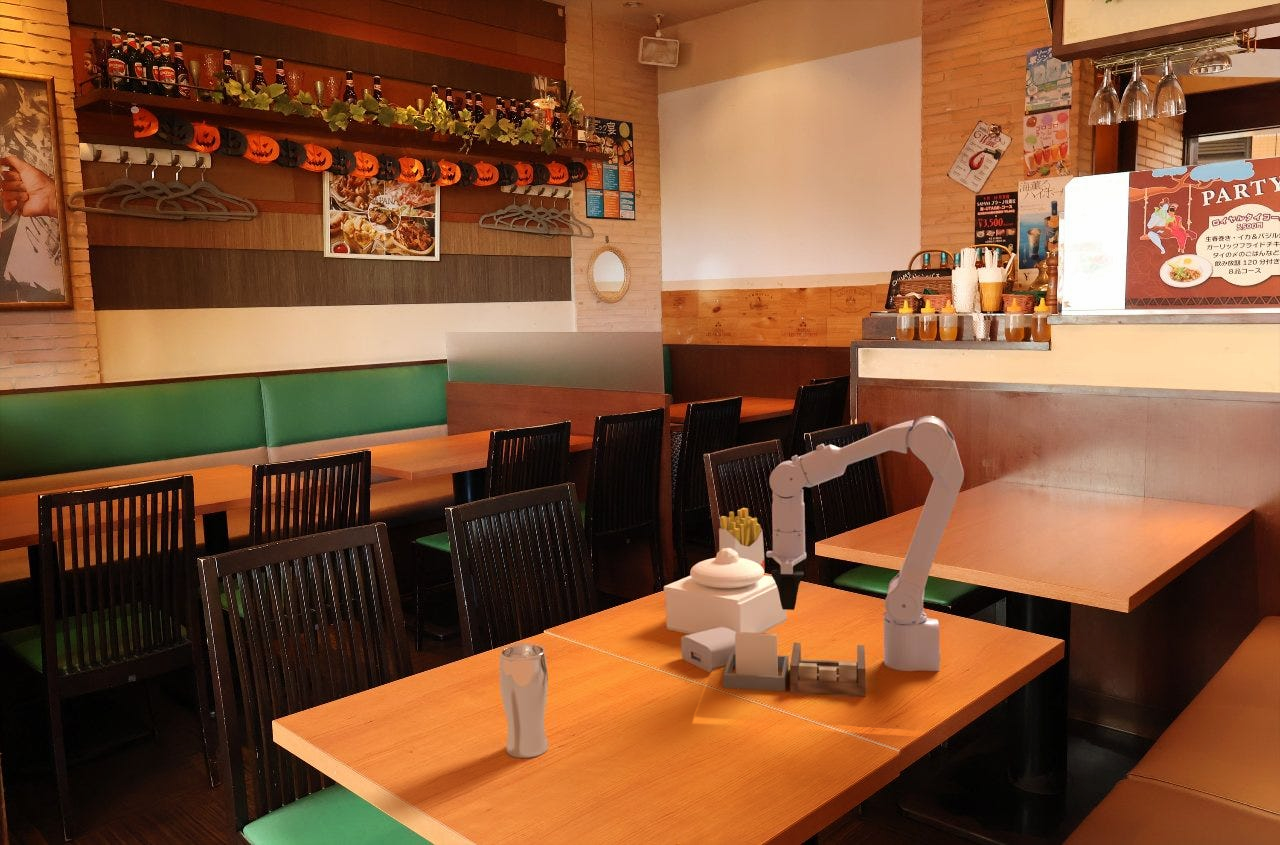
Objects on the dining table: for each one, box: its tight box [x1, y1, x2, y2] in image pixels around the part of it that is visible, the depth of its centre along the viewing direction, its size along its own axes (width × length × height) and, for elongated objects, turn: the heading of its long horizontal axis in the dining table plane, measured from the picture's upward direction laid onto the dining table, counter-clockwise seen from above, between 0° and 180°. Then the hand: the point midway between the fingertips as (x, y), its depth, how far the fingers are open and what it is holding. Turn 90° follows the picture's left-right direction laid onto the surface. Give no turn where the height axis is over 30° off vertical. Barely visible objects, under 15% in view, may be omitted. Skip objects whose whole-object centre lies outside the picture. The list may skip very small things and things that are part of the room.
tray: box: [722, 653, 790, 692], centre depth 165 cm, size 10×10×3 cm
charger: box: [680, 627, 736, 673], centre depth 178 cm, size 5×9×15 cm
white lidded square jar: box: [663, 548, 787, 635], centre depth 195 cm, size 18×18×16 cm
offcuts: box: [799, 661, 857, 682], centre depth 159 cm, size 9×2×4 cm, turn 78°
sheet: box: [735, 632, 779, 676], centre depth 165 cm, size 7×1×8 cm, turn 78°
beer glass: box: [499, 642, 549, 759], centre depth 142 cm, size 7×7×15 cm
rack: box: [789, 642, 867, 698], centre depth 163 cm, size 12×12×5 cm
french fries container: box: [718, 507, 766, 576], centre depth 219 cm, size 5×11×18 cm, turn 135°
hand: (789, 602), depth 175 cm, fingers open, 7 cm apart
